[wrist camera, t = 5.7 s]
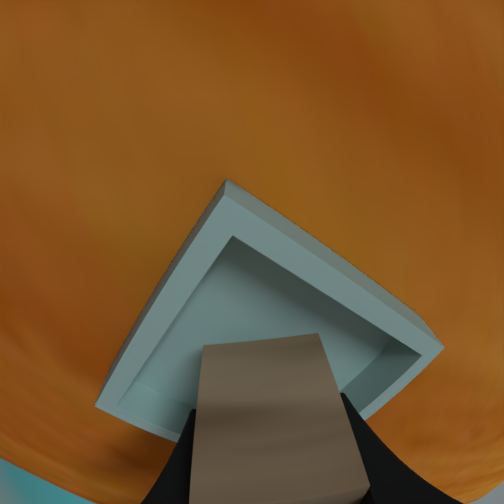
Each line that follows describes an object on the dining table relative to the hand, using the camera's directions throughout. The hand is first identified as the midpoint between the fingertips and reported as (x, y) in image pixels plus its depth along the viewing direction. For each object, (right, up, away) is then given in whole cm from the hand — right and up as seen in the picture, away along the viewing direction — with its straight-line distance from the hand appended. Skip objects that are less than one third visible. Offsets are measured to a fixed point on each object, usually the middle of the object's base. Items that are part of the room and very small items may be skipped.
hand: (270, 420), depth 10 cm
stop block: (0, +1, +2) cm, 2 cm away
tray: (0, +1, +4) cm, 4 cm away
